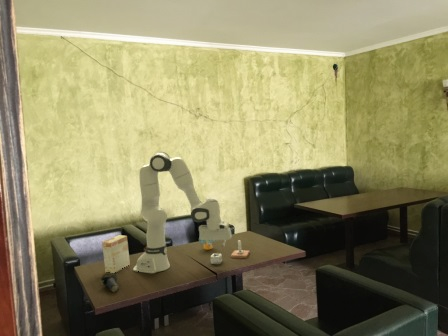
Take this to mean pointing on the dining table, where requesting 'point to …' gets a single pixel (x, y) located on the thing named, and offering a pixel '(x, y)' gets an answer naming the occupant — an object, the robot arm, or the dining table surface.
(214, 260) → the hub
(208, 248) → the orange vase with loops
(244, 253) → the shaft block
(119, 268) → the coffeecake box
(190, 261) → the dining table surface
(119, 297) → the dining table surface
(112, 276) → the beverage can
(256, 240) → the dining table surface
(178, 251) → the dining table surface
